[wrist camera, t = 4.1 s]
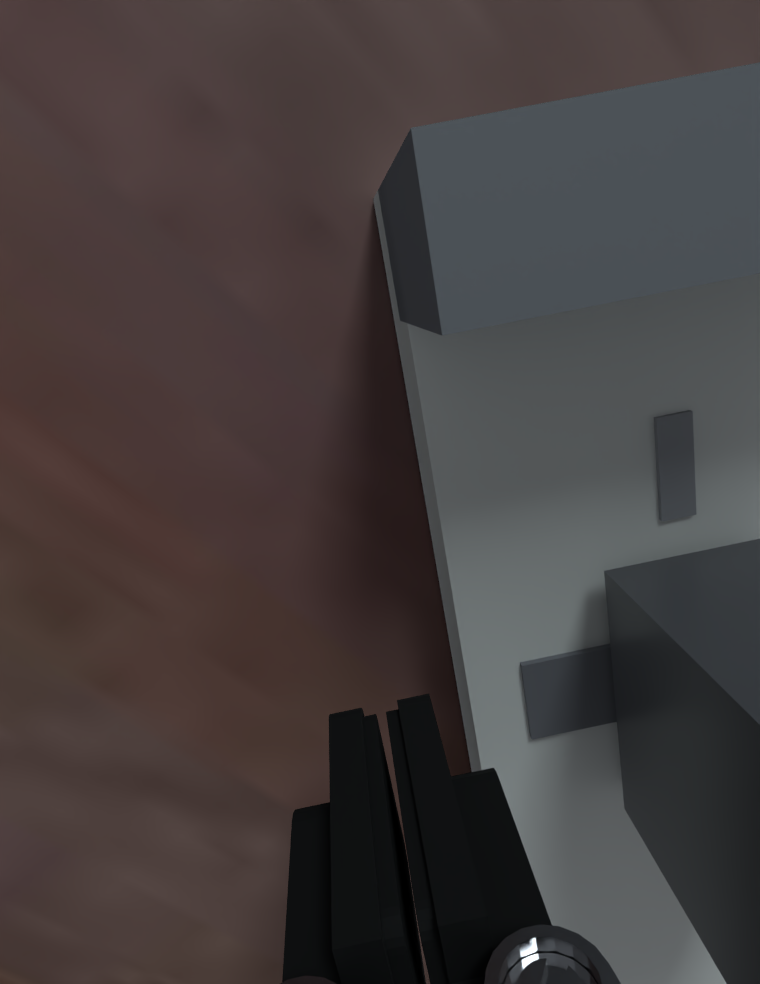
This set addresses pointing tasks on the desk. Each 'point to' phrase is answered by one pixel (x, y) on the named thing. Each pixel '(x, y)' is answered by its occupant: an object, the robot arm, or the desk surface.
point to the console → (578, 436)
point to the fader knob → (695, 735)
